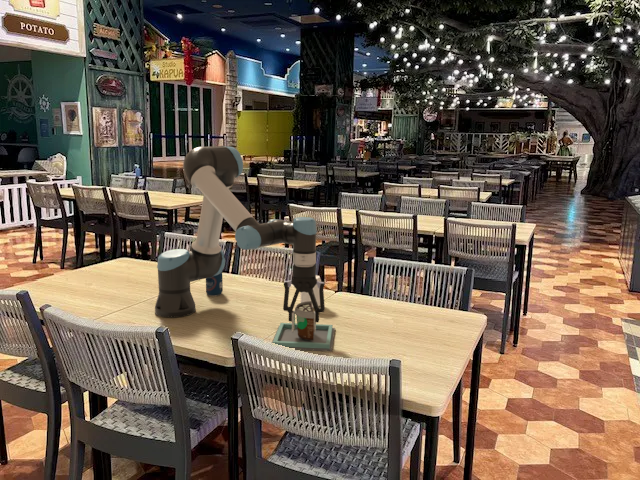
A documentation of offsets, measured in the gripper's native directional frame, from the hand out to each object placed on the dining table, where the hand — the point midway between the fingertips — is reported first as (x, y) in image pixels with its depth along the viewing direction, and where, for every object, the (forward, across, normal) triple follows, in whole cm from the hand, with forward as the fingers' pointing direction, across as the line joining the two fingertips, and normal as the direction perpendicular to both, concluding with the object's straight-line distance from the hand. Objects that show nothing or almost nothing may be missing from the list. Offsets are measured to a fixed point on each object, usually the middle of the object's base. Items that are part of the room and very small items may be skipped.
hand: (303, 330), depth 192 cm
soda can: (+3, -43, +47) cm, 64 cm away
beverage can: (+3, -1, +36) cm, 36 cm away
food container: (+2, 0, 0) cm, 2 cm away
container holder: (+3, 0, 0) cm, 3 cm away
